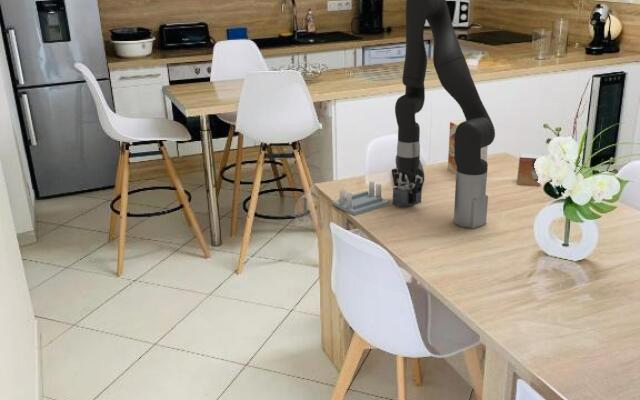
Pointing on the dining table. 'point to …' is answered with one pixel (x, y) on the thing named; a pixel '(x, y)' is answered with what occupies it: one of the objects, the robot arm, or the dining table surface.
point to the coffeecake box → (451, 160)
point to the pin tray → (361, 200)
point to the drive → (404, 196)
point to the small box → (527, 169)
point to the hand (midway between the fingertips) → (406, 201)
